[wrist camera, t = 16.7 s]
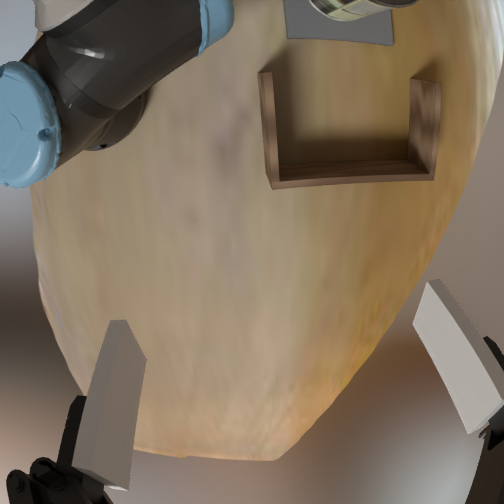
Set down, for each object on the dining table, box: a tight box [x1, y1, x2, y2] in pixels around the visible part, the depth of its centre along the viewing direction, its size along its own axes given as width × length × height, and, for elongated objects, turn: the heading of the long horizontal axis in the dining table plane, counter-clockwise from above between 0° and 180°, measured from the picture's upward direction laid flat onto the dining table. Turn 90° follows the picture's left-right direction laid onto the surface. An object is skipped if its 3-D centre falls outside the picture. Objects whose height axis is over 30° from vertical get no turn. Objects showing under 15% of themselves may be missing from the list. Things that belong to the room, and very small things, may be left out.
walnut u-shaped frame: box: [258, 72, 441, 190], centre depth 37 cm, size 15×25×7 cm, turn 95°
